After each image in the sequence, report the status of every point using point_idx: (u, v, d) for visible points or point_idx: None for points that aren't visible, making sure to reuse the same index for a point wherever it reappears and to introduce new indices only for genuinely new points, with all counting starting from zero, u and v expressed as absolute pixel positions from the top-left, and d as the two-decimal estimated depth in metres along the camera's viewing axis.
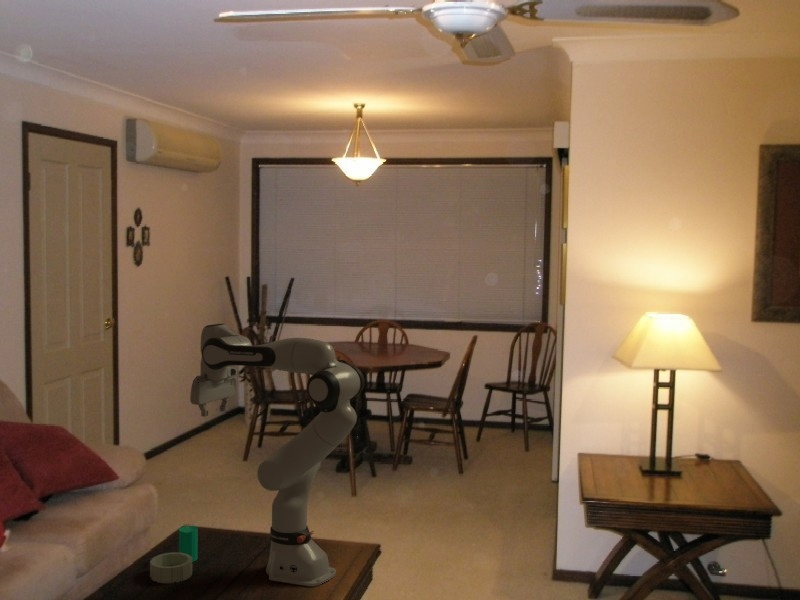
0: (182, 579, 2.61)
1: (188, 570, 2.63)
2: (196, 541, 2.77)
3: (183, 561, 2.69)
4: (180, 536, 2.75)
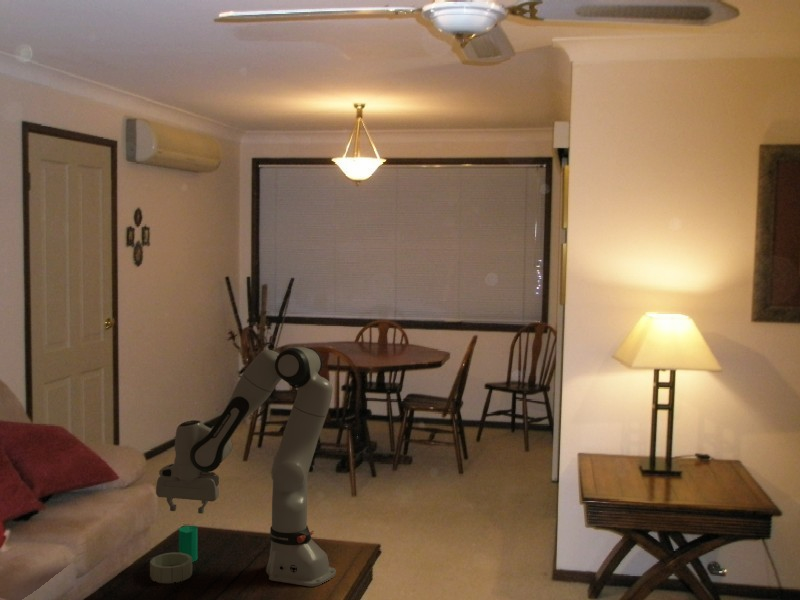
0: (182, 579, 2.61)
1: (188, 570, 2.63)
2: (196, 541, 2.77)
3: (183, 561, 2.69)
4: (180, 536, 2.75)
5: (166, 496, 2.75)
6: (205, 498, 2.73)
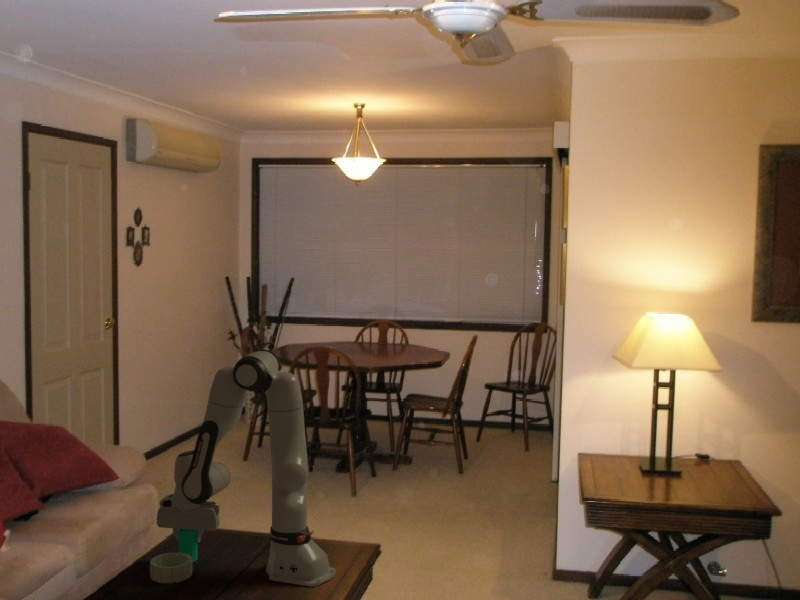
0: (182, 579, 2.61)
1: (188, 570, 2.63)
2: None
3: (183, 561, 2.69)
4: (180, 536, 2.75)
5: (167, 526, 2.76)
6: (206, 528, 2.74)
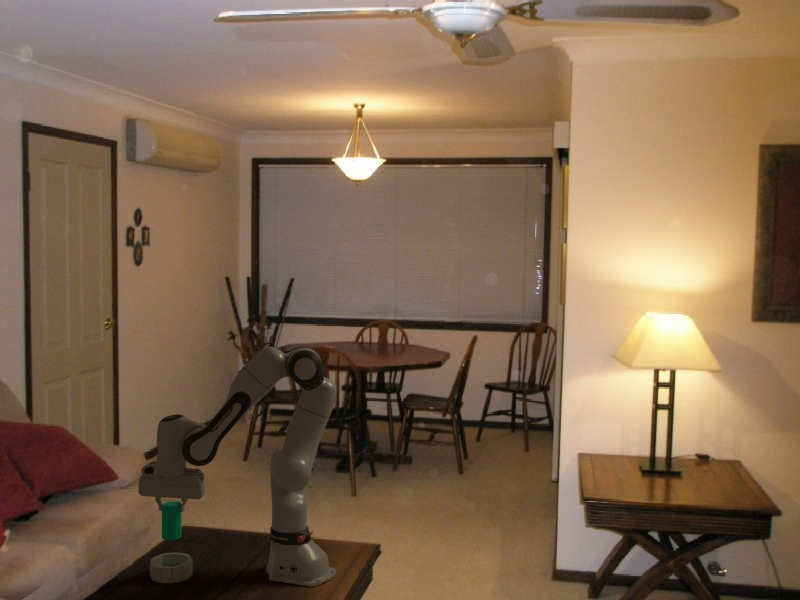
0: (182, 579, 2.61)
1: (188, 570, 2.63)
2: (180, 517, 2.63)
3: (183, 561, 2.69)
4: (163, 512, 2.61)
5: (149, 495, 2.62)
6: (190, 496, 2.61)
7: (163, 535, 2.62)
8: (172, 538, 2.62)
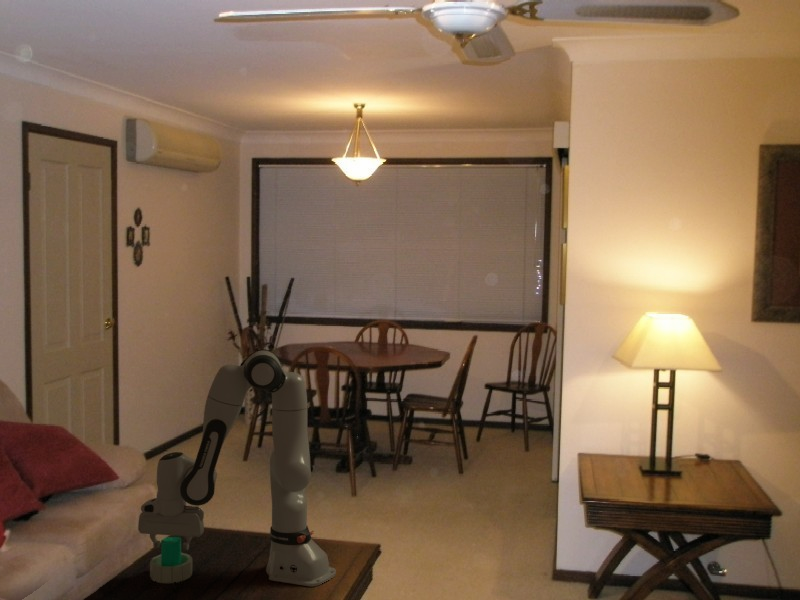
0: (182, 579, 2.61)
1: (188, 570, 2.63)
2: (180, 553, 2.64)
3: (183, 561, 2.69)
4: (163, 548, 2.62)
5: (149, 532, 2.63)
6: (190, 534, 2.62)
7: None
8: None
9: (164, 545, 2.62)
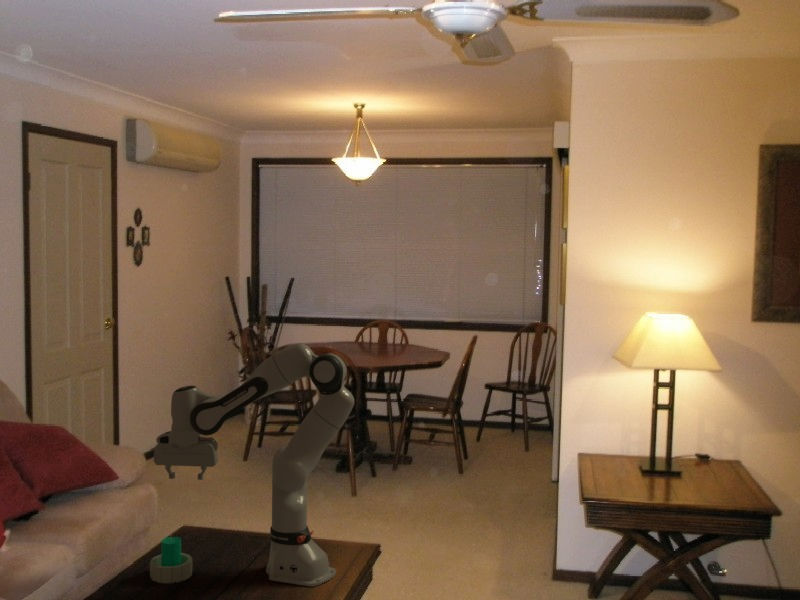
0: (182, 579, 2.61)
1: (188, 570, 2.63)
2: (180, 553, 2.64)
3: (183, 561, 2.69)
4: (163, 548, 2.62)
5: (164, 464, 2.71)
6: (204, 464, 2.70)
7: None
8: None
9: (164, 545, 2.62)
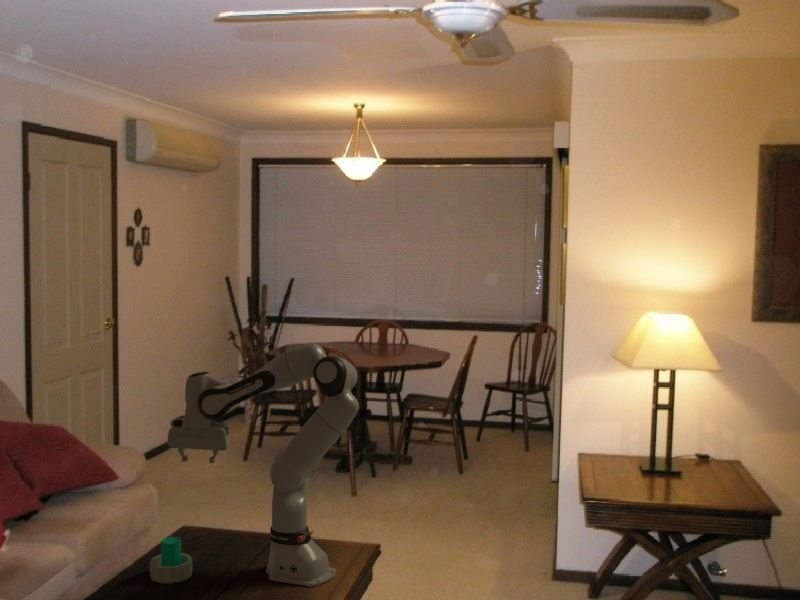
0: (182, 579, 2.61)
1: (188, 570, 2.63)
2: (180, 553, 2.64)
3: (183, 561, 2.69)
4: (163, 548, 2.62)
5: (178, 446, 2.79)
6: (216, 447, 2.78)
7: None
8: None
9: (164, 545, 2.62)
